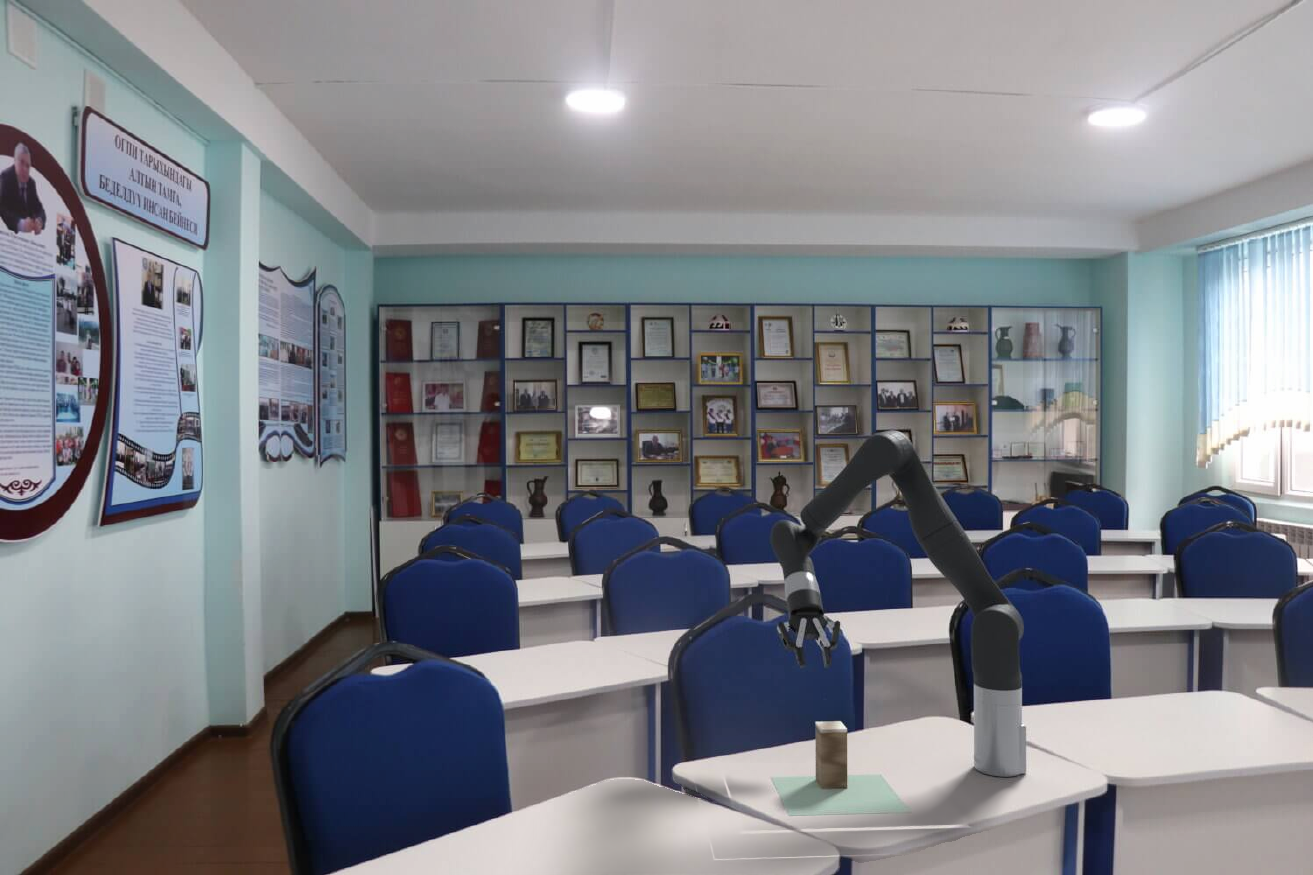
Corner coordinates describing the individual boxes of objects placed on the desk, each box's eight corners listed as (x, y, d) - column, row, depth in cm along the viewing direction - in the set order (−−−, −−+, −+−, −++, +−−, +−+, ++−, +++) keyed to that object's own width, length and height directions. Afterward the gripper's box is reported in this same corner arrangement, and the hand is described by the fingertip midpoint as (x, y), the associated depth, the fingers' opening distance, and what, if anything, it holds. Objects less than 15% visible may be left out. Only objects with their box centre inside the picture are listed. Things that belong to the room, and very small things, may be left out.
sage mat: (880, 776, 192) (880, 774, 192) (911, 814, 173) (911, 812, 173) (770, 779, 191) (770, 777, 191) (789, 818, 172) (789, 815, 172)
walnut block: (840, 778, 189) (840, 720, 189) (847, 788, 184) (847, 728, 184) (815, 779, 189) (815, 721, 189) (821, 789, 184) (821, 729, 184)
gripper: (773, 587, 209) (783, 656, 197) (838, 586, 210) (852, 655, 198) (768, 607, 214) (779, 676, 202) (832, 606, 215) (846, 674, 203)
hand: (815, 665), depth 200 cm, fingers open, 4 cm apart
